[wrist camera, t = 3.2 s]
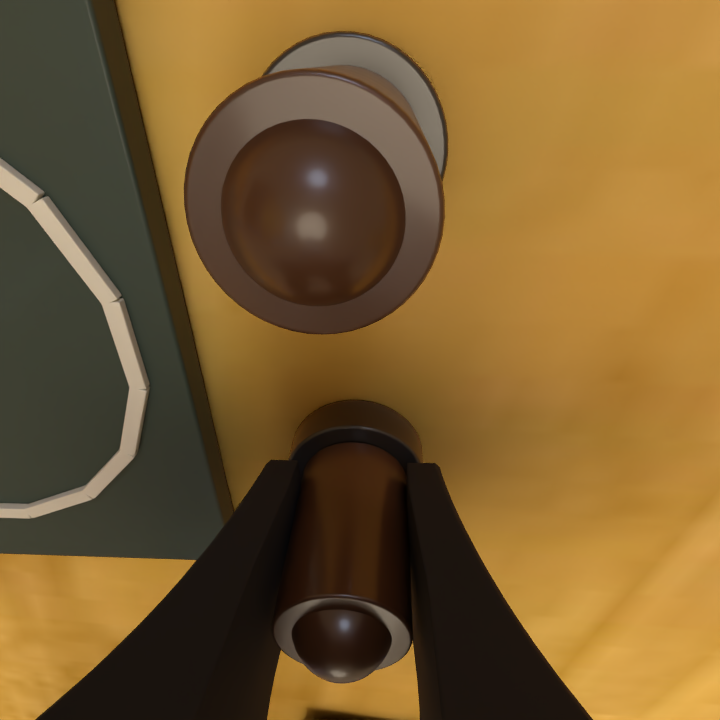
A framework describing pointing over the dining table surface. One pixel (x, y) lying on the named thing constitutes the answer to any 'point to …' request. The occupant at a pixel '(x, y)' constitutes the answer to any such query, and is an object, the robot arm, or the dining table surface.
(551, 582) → the dining table surface
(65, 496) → the slate board
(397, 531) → the stamp
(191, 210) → the stamp
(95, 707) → the robot arm
